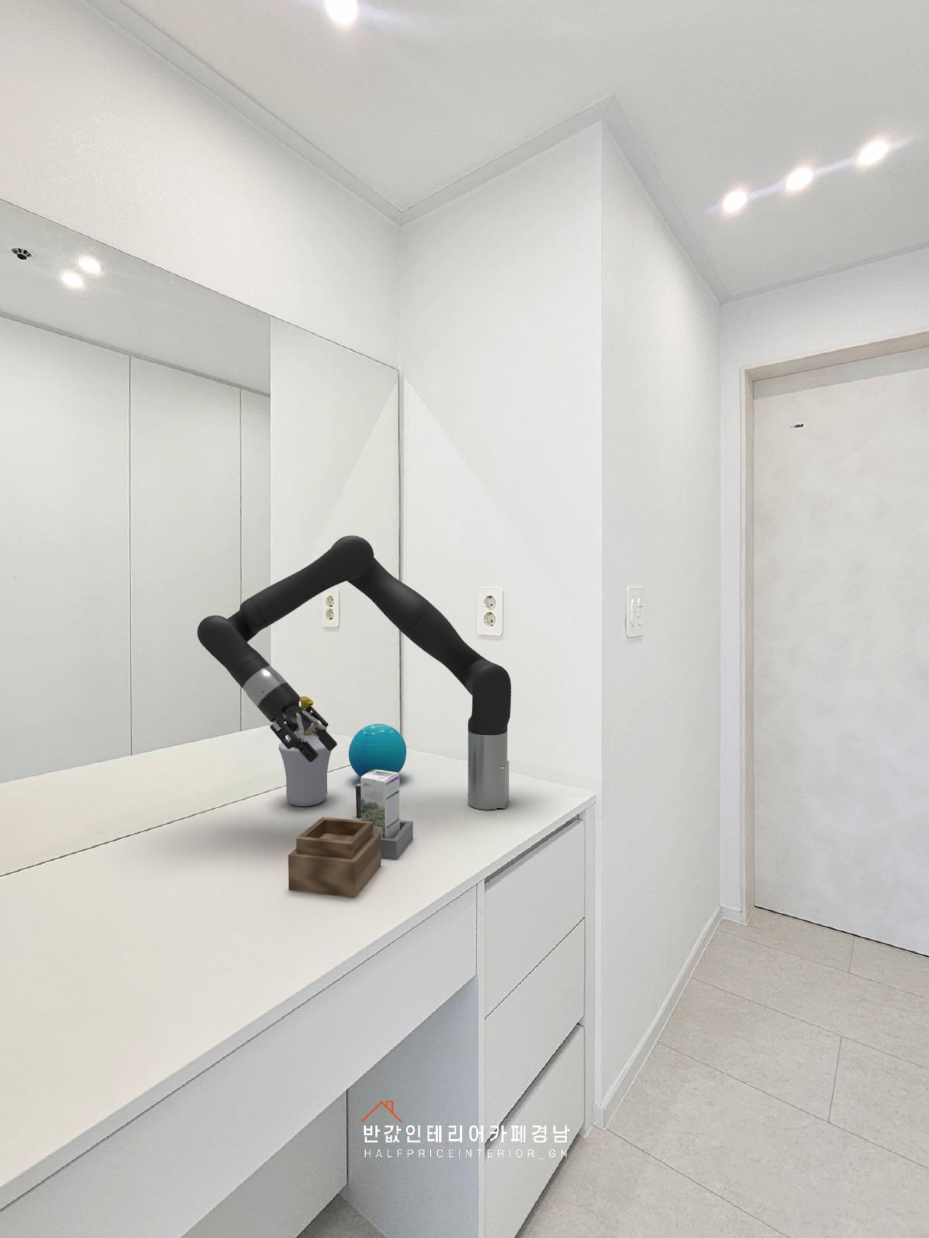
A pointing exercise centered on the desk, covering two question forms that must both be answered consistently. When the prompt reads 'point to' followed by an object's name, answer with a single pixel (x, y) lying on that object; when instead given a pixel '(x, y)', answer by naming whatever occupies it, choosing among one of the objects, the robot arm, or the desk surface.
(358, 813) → the box
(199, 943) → the desk surface
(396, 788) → the syrup box
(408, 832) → the charcoal collar
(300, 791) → the soap bottle
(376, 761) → the decorative orb
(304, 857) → the walnut raised dock
